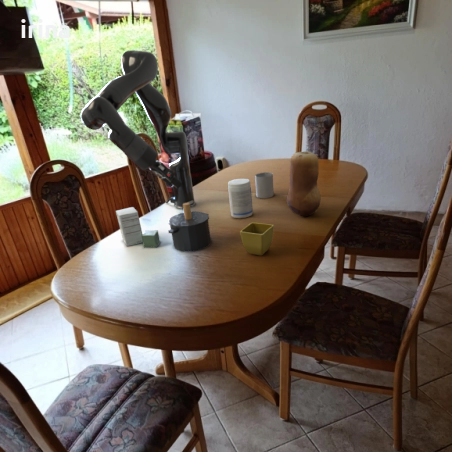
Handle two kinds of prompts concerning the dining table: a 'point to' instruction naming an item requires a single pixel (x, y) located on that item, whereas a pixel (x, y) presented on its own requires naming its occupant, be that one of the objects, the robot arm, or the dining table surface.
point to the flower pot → (257, 237)
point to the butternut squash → (304, 184)
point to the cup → (264, 185)
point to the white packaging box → (130, 226)
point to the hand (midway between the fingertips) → (175, 184)
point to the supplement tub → (240, 198)
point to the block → (150, 239)
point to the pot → (191, 237)
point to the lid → (188, 218)
